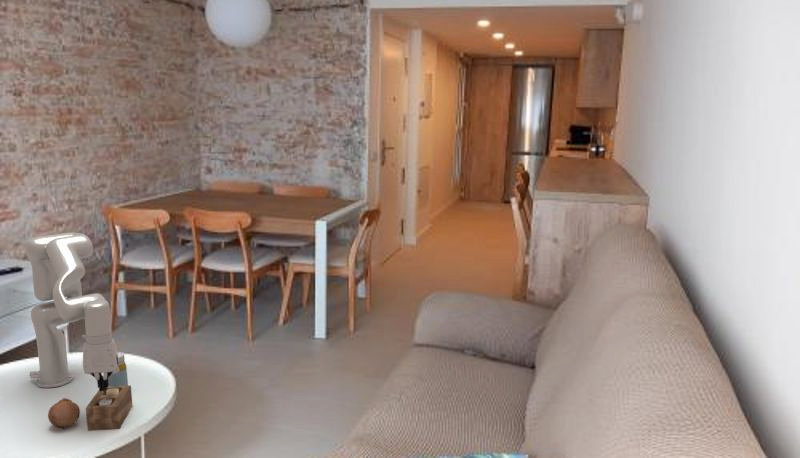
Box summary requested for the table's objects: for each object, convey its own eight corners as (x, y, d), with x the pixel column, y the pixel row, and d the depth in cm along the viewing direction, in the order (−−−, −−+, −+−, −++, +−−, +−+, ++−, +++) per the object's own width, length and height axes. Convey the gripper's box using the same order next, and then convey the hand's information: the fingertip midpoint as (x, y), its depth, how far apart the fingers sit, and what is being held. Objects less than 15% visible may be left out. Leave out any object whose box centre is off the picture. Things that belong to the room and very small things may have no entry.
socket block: (87, 430, 212) (85, 408, 211) (103, 408, 228) (100, 386, 226) (119, 428, 214) (117, 406, 212) (132, 406, 229) (130, 385, 228)
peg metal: (99, 425, 214) (97, 404, 213) (102, 419, 218) (100, 398, 217) (111, 424, 215) (109, 403, 214) (115, 418, 219) (113, 398, 217)
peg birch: (106, 413, 222) (104, 393, 221) (110, 408, 226) (108, 388, 225) (118, 413, 223) (116, 392, 221) (122, 407, 227) (120, 387, 225)
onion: (65, 429, 219) (66, 399, 222) (86, 426, 216) (86, 395, 218) (41, 432, 211) (41, 400, 213) (62, 429, 207) (62, 397, 210)
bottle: (121, 398, 235) (117, 359, 232) (103, 396, 237) (100, 358, 234) (132, 390, 242) (129, 352, 239) (115, 388, 243) (112, 350, 240)
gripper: (70, 342, 206) (75, 395, 210) (120, 341, 208) (123, 393, 212) (79, 333, 214) (83, 385, 218) (126, 332, 216) (130, 383, 220)
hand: (103, 389), depth 215 cm, fingers closed
